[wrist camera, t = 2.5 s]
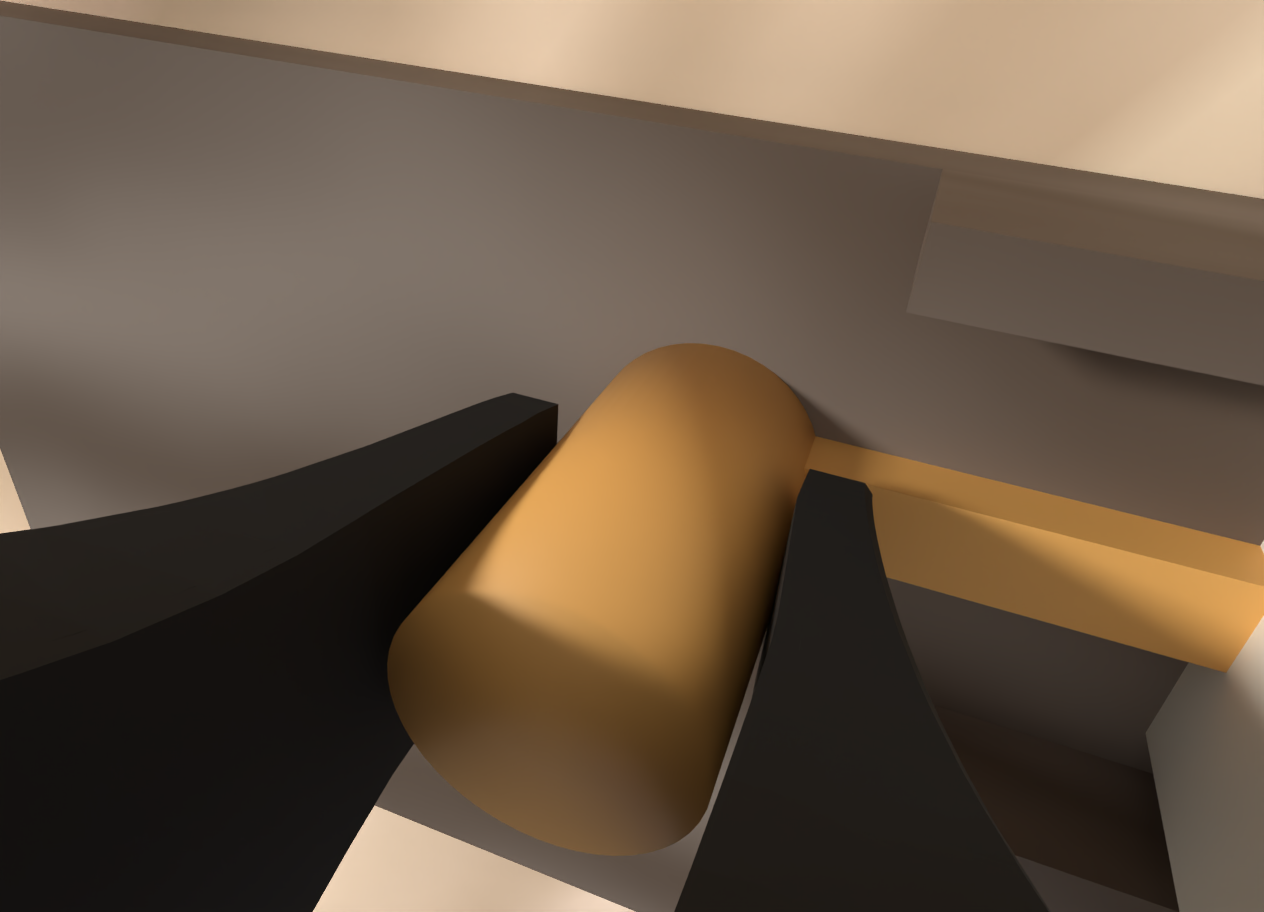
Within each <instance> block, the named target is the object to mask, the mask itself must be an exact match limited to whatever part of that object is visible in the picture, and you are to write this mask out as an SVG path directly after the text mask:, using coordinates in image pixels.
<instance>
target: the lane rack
mask: <svg viewBox="0 0 1264 912" xmlns="http://www.w3.org/2000/svg"><path fill="white" fill-rule="evenodd" d="M684 343H700V344H709V345H715V346H720V347H723V348H727V349H730V350H734V351H736V352H739V353H741V354H743V355H746V356H748V357H750V358H752V359H754V360H755V361H757V362H759V363H761V364H762V365H764V366H765V367H767V368H768V369H769V370H771V371H772V372H773V373H775V374H776V375H777V376H778V377H779V378H780V379H781V380H782V381H783V382H784V383H785V384H787V385H788V387H789V388H790V389H791V390H792V391H793V393H794V394H795V395H796V396H797V398H798V399H799V401H800V402H801V404H802V405H803V407H804V409H805V410H806V412H807V414H808V416H809V419H810V421H811V423H812V426H813V429H814V432H815V436H817V437H821V438H825V439H829V440H833V441H837V442H841V443H845V444H849V445H853V446H857V447H861V448H865V449H869V450H873V451H878V452H882V453H886V454H890V455H894V456H898V457H902V458H906V459H910V460H914V461H918V462H922V463H926V464H930V465H934V466H938V467H942V468H946V469H951V470H955V471H959V472H963V473H967V474H971V475H975V476H979V477H983V478H987V479H991V480H995V481H999V482H1003V483H1007V484H1011V485H1015V486H1019V487H1024V488H1028V489H1032V490H1036V491H1040V492H1044V493H1048V494H1052V495H1056V496H1060V497H1064V498H1068V499H1072V500H1076V501H1080V502H1084V503H1088V504H1092V505H1097V506H1101V507H1105V508H1109V509H1113V510H1117V511H1121V512H1125V513H1129V514H1133V515H1137V516H1141V517H1145V518H1149V519H1153V520H1157V521H1161V522H1165V523H1170V524H1174V525H1178V526H1182V527H1186V528H1190V529H1194V530H1198V531H1202V532H1206V533H1210V534H1214V535H1218V536H1222V537H1226V538H1230V539H1234V540H1238V541H1243V542H1247V543H1251V544H1255V545H1259V546H1261V544H1262V542H1263V541H1264V199H1260V198H1253V197H1247V196H1240V195H1234V194H1228V193H1221V192H1215V191H1209V190H1202V189H1196V188H1189V187H1183V186H1177V185H1170V184H1164V183H1158V182H1151V181H1145V180H1139V179H1132V178H1126V177H1119V176H1113V175H1107V174H1100V173H1094V172H1088V171H1081V170H1075V169H1068V168H1062V167H1056V166H1049V165H1043V164H1037V163H1030V162H1024V161H1017V160H1011V159H1005V158H998V157H992V156H986V155H979V154H973V153H967V152H960V151H954V150H947V149H941V148H935V147H928V146H922V145H916V144H909V143H903V142H896V141H890V140H884V139H877V138H871V137H865V136H858V135H852V134H846V133H839V132H833V131H826V130H820V129H814V128H807V127H801V126H795V125H788V124H782V123H775V122H769V121H763V120H756V119H750V118H744V117H737V116H731V115H724V114H718V113H712V112H705V111H699V110H693V109H686V108H680V107H674V106H667V105H661V104H654V103H648V102H642V101H635V100H629V99H623V98H616V97H610V96H603V95H597V94H591V93H584V92H578V91H572V90H565V89H559V88H552V87H546V86H540V85H533V84H527V83H521V82H514V81H508V80H502V79H495V78H489V77H482V76H476V75H470V74H463V73H457V72H451V71H444V70H438V69H431V68H425V67H419V66H412V65H406V64H400V63H393V62H387V61H381V60H374V59H368V58H361V57H355V56H349V55H342V54H336V53H330V52H323V51H317V50H310V49H304V48H298V47H291V46H285V45H279V44H272V43H266V42H259V41H253V40H247V39H240V38H234V37H228V36H221V35H215V34H209V33H202V32H196V31H189V30H183V29H177V28H170V27H164V26H158V25H151V24H145V23H138V22H132V21H126V20H119V19H113V18H107V17H100V16H94V15H88V14H81V13H75V12H68V11H62V10H56V9H49V8H43V7H37V6H30V5H24V4H17V3H11V2H5V1H0V449H1V452H2V454H3V457H4V460H5V462H6V465H7V467H8V470H9V473H10V475H11V478H12V481H13V483H14V486H15V489H16V491H17V494H18V496H19V499H20V502H21V504H22V507H23V510H24V512H25V515H26V518H27V520H28V523H29V526H30V528H31V529H37V528H44V527H50V526H57V525H62V524H67V523H73V522H78V521H83V520H89V519H94V518H99V517H105V516H110V515H115V514H121V513H126V512H132V511H137V510H142V509H148V508H153V507H158V506H163V505H167V504H172V503H176V502H181V501H185V500H189V499H193V498H197V497H201V496H205V495H209V494H213V493H217V492H221V491H225V490H229V489H233V488H236V487H240V486H243V485H247V484H251V483H254V482H258V481H261V480H265V479H268V478H271V477H275V476H278V475H281V474H284V473H287V472H290V471H293V470H296V469H299V468H302V467H305V466H308V465H311V464H314V463H317V462H320V461H323V460H326V459H329V458H332V457H335V456H338V455H341V454H344V453H347V452H350V451H353V450H356V449H359V448H362V447H364V446H367V445H370V444H373V443H375V442H378V441H381V440H383V439H386V438H388V437H391V436H394V435H396V434H399V433H402V432H404V431H407V430H409V429H412V428H415V427H417V426H420V425H423V424H425V423H428V422H430V421H433V420H436V419H438V418H441V417H443V416H446V415H449V414H451V413H454V412H456V411H459V410H462V409H464V408H467V407H470V406H472V405H475V404H478V403H481V402H483V401H486V400H489V399H492V398H495V397H498V396H502V395H506V394H509V393H517V394H521V395H525V396H528V397H532V398H536V399H540V400H544V401H548V402H552V403H556V404H559V405H558V430H557V443H558V442H559V441H560V440H561V439H562V438H563V437H564V435H565V434H566V433H567V432H568V431H569V430H570V428H571V427H572V426H573V425H574V424H575V423H576V422H577V420H578V419H579V418H580V417H581V416H582V415H583V413H584V412H585V411H586V410H587V409H588V408H589V407H590V405H591V404H592V403H593V402H594V401H595V400H596V398H597V397H598V396H599V395H600V394H601V393H602V392H603V390H604V389H605V388H606V387H607V386H608V385H609V383H610V382H611V381H612V380H613V379H614V378H615V377H616V375H617V374H618V373H619V372H620V371H621V370H622V369H623V368H624V367H625V366H627V365H628V364H629V363H630V362H632V361H633V360H634V359H636V358H638V357H639V356H641V355H643V354H645V353H647V352H649V351H652V350H655V349H657V348H660V347H664V346H669V345H673V344H684ZM887 580H888V584H889V587H890V590H891V593H892V597H893V600H894V603H895V606H896V609H897V613H898V616H899V619H900V622H901V625H902V628H903V630H904V633H905V636H906V639H907V642H908V645H909V647H910V650H911V652H912V655H913V657H914V660H915V662H916V665H917V667H918V670H919V672H920V675H921V677H922V680H923V682H924V685H925V687H926V689H927V691H928V694H929V696H930V698H931V701H932V703H933V705H934V707H935V710H936V712H937V714H938V716H939V718H940V720H941V723H942V725H943V727H944V729H945V731H946V733H947V735H948V737H949V739H950V741H951V743H952V745H953V747H954V749H955V751H956V753H957V755H958V757H959V759H960V761H961V763H962V765H963V767H964V769H965V770H966V772H967V774H968V776H969V778H970V779H971V781H972V783H973V785H974V787H975V789H976V790H977V792H978V794H979V796H980V798H981V799H982V801H983V803H984V805H985V807H986V808H987V810H988V812H989V814H990V816H991V817H992V819H993V821H994V823H995V824H996V826H997V828H998V830H999V831H1000V833H1001V834H1002V836H1003V837H1004V839H1005V841H1006V842H1007V844H1008V845H1009V847H1010V848H1011V850H1012V852H1013V853H1014V855H1015V856H1016V858H1017V859H1018V861H1019V863H1020V864H1021V866H1022V867H1023V869H1024V870H1025V872H1026V874H1027V875H1028V877H1029V878H1030V880H1031V881H1032V883H1033V885H1034V886H1035V888H1036V889H1037V891H1038V892H1039V894H1040V896H1041V897H1042V899H1043V900H1044V902H1045V903H1046V905H1047V907H1048V908H1049V910H1050V911H1051V912H1179V906H1178V901H1177V896H1176V891H1175V885H1174V880H1173V875H1172V870H1171V864H1170V859H1169V854H1168V849H1167V843H1166V838H1165V833H1164V828H1163V822H1162V817H1161V812H1160V807H1159V801H1158V796H1157V791H1156V786H1155V780H1154V775H1153V770H1152V765H1151V759H1150V754H1149V749H1148V744H1147V738H1146V731H1147V730H1148V728H1149V726H1150V725H1151V723H1152V722H1153V720H1154V718H1155V717H1156V715H1157V713H1158V712H1159V710H1160V709H1161V707H1162V705H1163V704H1164V702H1165V700H1166V699H1167V697H1168V695H1169V694H1170V692H1171V691H1172V689H1173V687H1174V686H1175V684H1176V682H1177V681H1178V679H1179V678H1180V676H1181V674H1182V673H1183V671H1184V669H1185V668H1186V666H1187V665H1188V663H1189V662H1186V661H1182V660H1179V659H1175V658H1172V657H1168V656H1165V655H1161V654H1157V653H1154V652H1150V651H1147V650H1143V649H1140V648H1136V647H1133V646H1129V645H1125V644H1122V643H1118V642H1115V641H1111V640H1108V639H1104V638H1101V637H1097V636H1094V635H1090V634H1086V633H1083V632H1079V631H1076V630H1072V629H1069V628H1065V627H1062V626H1058V625H1055V624H1051V623H1047V622H1044V621H1040V620H1037V619H1033V618H1030V617H1026V616H1023V615H1019V614H1015V613H1012V612H1008V611H1005V610H1001V609H998V608H994V607H991V606H987V605H984V604H980V603H976V602H973V601H969V600H966V599H962V598H959V597H955V596H952V595H948V594H945V593H941V592H937V591H934V590H930V589H927V588H923V587H920V586H916V585H913V584H909V583H905V582H902V581H898V580H895V579H891V578H888V577H887ZM766 631H767V630H766ZM765 636H766V633H765ZM765 636H764V639H763V642H762V645H761V648H760V651H759V654H758V657H757V660H756V663H755V666H754V669H753V672H752V675H751V678H750V681H749V684H748V687H747V690H746V693H745V696H744V699H743V702H742V705H741V708H740V711H739V714H738V717H737V720H736V723H735V727H734V730H733V733H732V736H731V739H730V742H729V745H728V748H727V751H726V754H725V757H724V760H723V763H722V766H721V769H720V772H719V775H718V778H717V781H716V784H715V787H714V790H713V793H712V796H711V799H710V802H709V805H708V808H707V811H706V812H705V814H704V816H703V817H702V819H701V821H700V823H699V824H698V825H697V826H696V827H695V828H694V829H693V830H692V831H691V832H690V833H689V834H688V835H686V836H685V837H684V838H682V839H681V840H679V841H678V842H676V843H674V844H672V845H670V846H668V847H666V848H663V849H660V850H656V851H653V852H650V853H644V854H637V855H628V856H609V855H596V854H590V853H584V852H578V851H574V850H570V849H566V848H562V847H559V846H555V845H553V844H550V843H547V842H544V841H541V840H538V839H536V838H534V837H531V836H529V835H527V834H525V833H522V832H520V831H518V830H516V829H514V828H512V827H510V826H508V825H507V824H505V823H503V822H501V821H499V820H498V819H496V818H494V817H493V816H491V815H490V814H488V813H486V812H485V811H483V810H482V809H480V808H479V807H478V806H476V805H475V804H474V803H472V802H471V801H469V800H468V799H467V798H465V797H464V796H463V795H462V794H461V793H459V792H458V791H457V790H456V789H455V788H454V787H452V786H451V785H450V784H449V783H448V782H447V781H446V780H445V779H444V778H443V777H442V776H441V775H440V774H439V773H438V772H437V771H436V770H435V769H434V768H433V767H432V765H431V764H430V763H429V762H428V761H427V760H426V759H425V757H424V756H423V755H422V754H421V752H420V751H419V749H418V748H417V747H416V745H415V744H413V746H412V747H411V749H410V750H409V752H408V753H407V755H406V756H405V758H404V759H403V761H402V762H401V763H400V765H399V766H398V768H397V769H396V771H395V772H394V774H393V775H392V777H391V778H390V780H389V782H388V783H387V785H386V787H385V788H384V790H383V792H382V793H381V795H380V797H379V798H378V800H377V802H376V803H375V806H378V807H380V808H383V809H385V810H388V811H390V812H392V813H395V814H397V815H400V816H402V817H405V818H407V819H410V820H412V821H415V822H417V823H420V824H422V825H424V826H427V827H429V828H432V829H434V830H437V831H439V832H442V833H444V834H447V835H449V836H451V837H454V838H456V839H459V840H461V841H464V842H466V843H469V844H471V845H474V846H476V847H479V848H481V849H483V850H486V851H488V852H491V853H493V854H496V855H498V856H501V857H503V858H506V859H508V860H511V861H513V862H515V863H518V864H520V865H523V866H525V867H528V868H530V869H533V870H535V871H538V872H540V873H543V874H545V875H547V876H550V877H552V878H555V879H557V880H560V881H562V882H565V883H567V884H570V885H572V886H575V887H577V888H579V889H582V890H584V891H587V892H589V893H592V894H594V895H597V896H599V897H602V898H604V899H607V900H609V901H611V902H614V903H616V904H619V905H621V906H624V907H626V908H629V909H631V910H634V911H636V912H674V911H675V908H676V906H677V903H678V900H679V898H680V895H681V892H682V890H683V887H684V885H685V882H686V879H687V877H688V874H689V871H690V869H691V866H692V864H693V861H694V858H695V855H696V853H697V850H698V847H699V844H700V842H701V839H702V836H703V833H704V831H705V828H706V825H707V823H708V820H709V817H710V814H711V812H712V809H713V806H714V803H715V801H716V798H717V795H718V792H719V790H720V787H721V784H722V782H723V779H724V776H725V773H726V770H727V768H728V765H729V762H730V759H731V756H732V753H733V751H734V748H735V745H736V742H737V739H738V736H739V734H740V731H741V728H742V725H743V722H744V719H745V717H746V714H747V711H748V708H749V705H750V702H751V699H752V694H753V689H754V684H755V679H756V675H757V671H758V666H759V662H760V658H761V653H762V649H763V644H764V640H765Z"/></svg>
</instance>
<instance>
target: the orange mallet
mask: <svg viewBox="0 0 1264 912" xmlns="http://www.w3.org/2000/svg"><path fill="white" fill-rule="evenodd" d="M809 469H813V470H817V471H821V472H825V473H828V474H832V475H836V476H840V477H844V478H848V479H852V480H856V481H860V482H864V483H866V485H867V487H868V488H869V490H870V491H871V493H872V494H873V497H872V505H873V516H874V523H875V529H876V535H877V540H878V544H879V549H880V553H881V558H882V562H883V566H884V569H885V573H886V577H888V578H891V579H895V580H898V581H902V582H905V583H909V584H913V585H916V586H920V587H923V588H927V589H930V590H934V591H937V592H941V593H945V594H948V595H952V596H955V597H959V598H962V599H966V600H969V601H973V602H976V603H980V604H984V605H987V606H991V607H994V608H998V609H1001V610H1005V611H1008V612H1012V613H1015V614H1019V615H1023V616H1026V617H1030V618H1033V619H1037V620H1040V621H1044V622H1047V623H1051V624H1055V625H1058V626H1062V627H1065V628H1069V629H1072V630H1076V631H1079V632H1083V633H1086V634H1090V635H1094V636H1097V637H1101V638H1104V639H1108V640H1111V641H1115V642H1118V643H1122V644H1125V645H1129V646H1133V647H1136V648H1140V649H1143V650H1147V651H1150V652H1154V653H1157V654H1161V655H1165V656H1168V657H1172V658H1175V659H1179V660H1182V661H1186V662H1189V663H1188V665H1187V666H1186V668H1185V669H1184V671H1183V673H1182V674H1181V676H1180V678H1179V679H1178V681H1177V682H1176V684H1175V686H1174V687H1173V689H1172V691H1171V692H1170V694H1169V695H1168V697H1167V699H1166V700H1165V702H1164V704H1163V705H1162V707H1161V709H1160V710H1159V712H1158V713H1157V715H1156V717H1155V718H1154V720H1153V722H1152V723H1151V725H1150V726H1149V728H1148V730H1147V731H1146V738H1147V744H1148V749H1149V754H1150V759H1151V765H1152V770H1153V775H1154V780H1155V786H1156V791H1157V796H1158V801H1159V807H1160V812H1161V817H1162V822H1163V828H1164V833H1165V838H1166V843H1167V849H1168V854H1169V859H1170V864H1171V870H1172V875H1173V880H1174V885H1175V891H1176V896H1177V901H1178V906H1179V912H1264V541H1263V542H1262V544H1261V546H1259V545H1255V544H1251V543H1247V542H1243V541H1238V540H1234V539H1230V538H1226V537H1222V536H1218V535H1214V534H1210V533H1206V532H1202V531H1198V530H1194V529H1190V528H1186V527H1182V526H1178V525H1174V524H1170V523H1165V522H1161V521H1157V520H1153V519H1149V518H1145V517H1141V516H1137V515H1133V514H1129V513H1125V512H1121V511H1117V510H1113V509H1109V508H1105V507H1101V506H1097V505H1092V504H1088V503H1084V502H1080V501H1076V500H1072V499H1068V498H1064V497H1060V496H1056V495H1052V494H1048V493H1044V492H1040V491H1036V490H1032V489H1028V488H1024V487H1019V486H1015V485H1011V484H1007V483H1003V482H999V481H995V480H991V479H987V478H983V477H979V476H975V475H971V474H967V473H963V472H959V471H955V470H951V469H946V468H942V467H938V466H934V465H930V464H926V463H922V462H918V461H914V460H910V459H906V458H902V457H898V456H894V455H890V454H886V453H882V452H878V451H873V450H869V449H865V448H861V447H857V446H853V445H849V444H845V443H841V442H837V441H833V440H829V439H825V438H821V437H817V436H815V432H814V429H813V426H812V423H811V421H810V419H809V416H808V414H807V412H806V410H805V409H804V407H803V405H802V404H801V402H800V401H799V399H798V398H797V396H796V395H795V394H794V393H793V391H792V390H791V389H790V388H789V387H788V385H787V384H785V383H784V382H783V381H782V380H781V379H780V378H779V377H778V376H777V375H776V374H775V373H773V372H772V371H771V370H769V369H768V368H767V367H765V366H764V365H762V364H761V363H759V362H757V361H755V360H754V359H752V358H750V357H748V356H746V355H743V354H741V353H739V352H736V351H734V350H730V349H727V348H723V347H720V346H715V345H709V344H700V343H684V344H673V345H669V346H664V347H660V348H657V349H655V350H652V351H649V352H647V353H645V354H643V355H641V356H639V357H638V358H636V359H634V360H633V361H632V362H630V363H629V364H628V365H627V366H625V367H624V368H623V369H622V370H621V371H620V372H619V373H618V374H617V375H616V377H615V378H614V379H613V380H612V381H611V382H610V383H609V385H608V386H607V387H606V388H605V389H604V390H603V392H602V393H601V394H600V395H599V396H598V397H597V398H596V400H595V401H594V402H593V403H592V404H591V405H590V407H589V408H588V409H587V410H586V411H585V412H584V413H583V415H582V416H581V417H580V418H579V419H578V420H577V422H576V423H575V424H574V425H573V426H572V427H571V428H570V430H569V431H568V432H567V433H566V434H565V435H564V437H563V438H562V439H561V440H560V441H559V442H558V443H557V445H556V446H555V447H554V448H553V449H552V450H551V452H550V453H549V454H548V455H547V456H546V457H545V458H544V460H543V461H542V462H541V463H540V464H539V465H538V467H537V468H536V469H535V470H534V471H533V472H532V473H531V475H530V476H529V477H528V478H527V479H526V480H525V482H524V483H523V484H522V485H521V486H520V487H519V488H518V490H517V491H516V492H515V493H514V494H513V495H512V497H511V498H510V499H509V500H508V501H507V502H506V503H505V505H504V506H503V507H502V508H501V509H500V510H499V512H498V513H497V514H496V515H495V516H494V517H493V518H492V520H491V521H490V522H489V523H488V524H487V525H486V527H485V528H484V529H483V530H482V531H481V532H480V533H479V535H478V536H477V537H476V538H475V539H474V540H473V542H472V543H471V544H470V545H469V546H468V547H467V548H466V550H465V551H464V552H463V553H462V554H461V555H460V557H459V558H458V559H457V560H456V561H455V562H454V563H453V565H452V566H451V567H450V568H449V569H448V570H447V572H446V573H445V574H444V575H443V576H442V577H441V578H440V580H439V581H438V582H437V583H436V584H435V585H434V587H433V588H432V589H431V590H430V591H429V592H428V593H427V595H426V596H425V597H424V598H423V599H422V600H421V602H420V603H419V604H418V605H417V606H416V607H415V608H414V610H413V611H412V612H411V613H410V614H409V615H408V617H407V618H406V619H405V620H404V621H403V622H402V624H401V625H400V627H399V628H398V630H397V632H396V633H395V635H394V637H393V640H392V643H391V646H390V648H389V655H388V662H387V671H388V683H389V688H390V694H391V697H392V700H393V703H394V706H395V709H396V711H397V713H398V716H399V718H400V720H401V722H402V724H403V726H404V728H405V730H406V731H407V733H408V735H409V736H410V738H411V740H412V741H413V743H414V744H415V745H416V747H417V748H418V749H419V751H420V752H421V754H422V755H423V756H424V757H425V759H426V760H427V761H428V762H429V763H430V764H431V765H432V767H433V768H434V769H435V770H436V771H437V772H438V773H439V774H440V775H441V776H442V777H443V778H444V779H445V780H446V781H447V782H448V783H449V784H450V785H451V786H452V787H454V788H455V789H456V790H457V791H458V792H459V793H461V794H462V795H463V796H464V797H465V798H467V799H468V800H469V801H471V802H472V803H474V804H475V805H476V806H478V807H479V808H480V809H482V810H483V811H485V812H486V813H488V814H490V815H491V816H493V817H494V818H496V819H498V820H499V821H501V822H503V823H505V824H507V825H508V826H510V827H512V828H514V829H516V830H518V831H520V832H522V833H525V834H527V835H529V836H531V837H534V838H536V839H538V840H541V841H544V842H547V843H550V844H553V845H555V846H559V847H562V848H566V849H570V850H574V851H578V852H584V853H590V854H596V855H609V856H628V855H637V854H644V853H650V852H653V851H656V850H660V849H663V848H666V847H668V846H670V845H672V844H674V843H676V842H678V841H679V840H681V839H682V838H684V837H685V836H686V835H688V834H689V833H690V832H691V831H692V830H693V829H694V828H695V827H696V826H697V825H698V824H699V823H700V821H701V819H702V817H703V816H704V814H705V812H706V811H707V808H708V805H709V802H710V799H711V796H712V793H713V790H714V787H715V784H716V781H717V778H718V775H719V772H720V769H721V766H722V763H723V760H724V757H725V754H726V751H727V748H728V745H729V742H730V739H731V736H732V733H733V730H734V727H735V723H736V720H737V717H738V714H739V711H740V708H741V705H742V702H743V699H744V696H745V693H746V690H747V687H748V684H749V681H750V678H751V675H752V672H753V669H754V666H755V663H756V660H757V657H758V654H759V651H760V648H761V645H762V642H763V639H764V636H765V633H766V630H767V627H768V624H769V620H770V617H771V613H772V608H773V604H774V599H775V594H776V589H777V584H778V579H779V575H780V570H781V566H782V561H783V557H784V553H785V548H786V544H787V540H788V535H789V531H790V527H791V522H792V518H793V513H794V509H795V505H796V500H797V497H798V494H799V492H800V489H801V487H802V485H803V482H804V480H805V478H806V476H807V474H808V472H809Z"/></svg>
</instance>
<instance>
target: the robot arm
mask: <svg viewBox="0 0 1264 912" xmlns="http://www.w3.org/2000/svg"><path fill="white" fill-rule="evenodd" d="M558 405H559V404H556V403H552V402H548V401H544V400H540V399H536V398H532V397H528V396H525V395H521V394H517V393H509V394H506V395H502V396H498V397H495V398H492V399H489V400H486V401H483V402H481V403H478V404H475V405H472V406H470V407H467V408H464V409H462V410H459V411H456V412H454V413H451V414H449V415H446V416H443V417H441V418H438V419H436V420H433V421H430V422H428V423H425V424H423V425H420V426H417V427H415V428H412V429H409V430H407V431H404V432H402V433H399V434H396V435H394V436H391V437H388V438H386V439H383V440H381V441H378V442H375V443H373V444H370V445H367V446H364V447H362V448H359V449H356V450H353V451H350V452H347V453H344V454H341V455H338V456H335V457H332V458H329V459H326V460H323V461H320V462H317V463H314V464H311V465H308V466H305V467H302V468H299V469H296V470H293V471H290V472H287V473H284V474H281V475H278V476H275V477H271V478H268V479H265V480H261V481H258V482H254V483H251V484H247V485H243V486H240V487H236V488H233V489H229V490H225V491H221V492H217V493H213V494H209V495H205V496H201V497H197V498H193V499H189V500H185V501H181V502H176V503H172V504H167V505H163V506H158V507H153V508H148V509H142V510H137V511H132V512H126V513H121V514H115V515H110V516H105V517H99V518H94V519H89V520H83V521H78V522H73V523H67V524H62V525H57V526H50V527H44V528H37V529H30V530H23V531H16V532H8V533H1V534H0V912H313V910H314V908H315V907H316V905H317V903H318V901H319V899H320V898H321V896H322V894H323V892H324V891H325V889H326V887H327V885H328V884H329V882H330V880H331V878H332V877H333V875H334V873H335V871H336V870H337V868H338V866H339V864H340V863H341V861H342V859H343V857H344V855H345V854H346V852H347V850H348V848H349V847H350V845H351V843H352V842H353V840H354V838H355V837H356V835H357V833H358V832H359V830H360V828H361V827H362V825H363V823H364V822H365V820H366V818H367V817H368V815H369V813H370V812H371V810H372V808H373V807H374V805H375V803H376V802H377V800H378V798H379V797H380V795H381V793H382V792H383V790H384V788H385V787H386V785H387V783H388V782H389V780H390V778H391V777H392V775H393V774H394V772H395V771H396V769H397V768H398V766H399V765H400V763H401V762H402V761H403V759H404V758H405V756H406V755H407V753H408V752H409V750H410V749H411V747H412V746H413V744H414V743H413V741H412V740H411V738H410V736H409V735H408V733H407V731H406V730H405V728H404V726H403V724H402V722H401V720H400V718H399V716H398V713H397V711H396V709H395V706H394V703H393V700H392V697H391V694H390V688H389V683H388V671H387V662H388V655H389V648H390V646H391V643H392V640H393V637H394V635H395V633H396V632H397V630H398V628H399V627H400V625H401V624H402V622H403V621H404V620H405V619H406V618H407V617H408V615H409V614H410V613H411V612H412V611H413V610H414V608H415V607H416V606H417V605H418V604H419V603H420V602H421V600H422V599H423V598H424V597H425V596H426V595H427V593H428V592H429V591H430V590H431V589H432V588H433V587H434V585H435V584H436V583H437V582H438V581H439V580H440V578H441V577H442V576H443V575H444V574H445V573H446V572H447V570H448V569H449V568H450V567H451V566H452V565H453V563H454V562H455V561H456V560H457V559H458V558H459V557H460V555H461V554H462V553H463V552H464V551H465V550H466V548H467V547H468V546H469V545H470V544H471V543H472V542H473V540H474V539H475V538H476V537H477V536H478V535H479V533H480V532H481V531H482V530H483V529H484V528H485V527H486V525H487V524H488V523H489V522H490V521H491V520H492V518H493V517H494V516H495V515H496V514H497V513H498V512H499V510H500V509H501V508H502V507H503V506H504V505H505V503H506V502H507V501H508V500H509V499H510V498H511V497H512V495H513V494H514V493H515V492H516V491H517V490H518V488H519V487H520V486H521V485H522V484H523V483H524V482H525V480H526V479H527V478H528V477H529V476H530V475H531V473H532V472H533V471H534V470H535V469H536V468H537V467H538V465H539V464H540V463H541V462H542V461H543V460H544V458H545V457H546V456H547V455H548V454H549V453H550V452H551V450H552V449H553V448H554V447H555V446H556V445H557V430H558ZM872 497H873V494H872V493H871V491H870V490H869V488H868V487H867V485H866V483H864V482H860V481H856V480H852V479H848V478H844V477H840V476H836V475H832V474H828V473H825V472H821V471H817V470H813V469H809V472H808V474H807V476H806V478H805V480H804V482H803V485H802V487H801V489H800V492H799V494H798V497H797V500H796V505H795V509H794V513H793V518H792V522H791V527H790V531H789V535H788V540H787V544H786V548H785V553H784V557H783V561H782V566H781V570H780V575H779V579H778V584H777V589H776V594H775V599H774V604H773V608H772V613H771V617H770V620H769V624H768V627H767V631H766V636H765V640H764V644H763V649H762V653H761V658H760V662H759V666H758V671H757V675H756V679H755V684H754V689H753V694H752V699H751V702H750V705H749V708H748V711H747V714H746V717H745V719H744V722H743V725H742V728H741V731H740V734H739V736H738V739H737V742H736V745H735V748H734V751H733V753H732V756H731V759H730V762H729V765H728V768H727V770H726V773H725V776H724V779H723V782H722V784H721V787H720V790H719V792H718V795H717V798H716V801H715V803H714V806H713V809H712V812H711V814H710V817H709V820H708V823H707V825H706V828H705V831H704V833H703V836H702V839H701V842H700V844H699V847H698V850H697V853H696V855H695V858H694V861H693V864H692V866H691V869H690V871H689V874H688V877H687V879H686V882H685V885H684V887H683V890H682V892H681V895H680V898H679V900H678V903H677V906H676V908H675V911H674V912H1051V911H1050V910H1049V908H1048V907H1047V905H1046V903H1045V902H1044V900H1043V899H1042V897H1041V896H1040V894H1039V892H1038V891H1037V889H1036V888H1035V886H1034V885H1033V883H1032V881H1031V880H1030V878H1029V877H1028V875H1027V874H1026V872H1025V870H1024V869H1023V867H1022V866H1021V864H1020V863H1019V861H1018V859H1017V858H1016V856H1015V855H1014V853H1013V852H1012V850H1011V848H1010V847H1009V845H1008V844H1007V842H1006V841H1005V839H1004V837H1003V836H1002V834H1001V833H1000V831H999V830H998V828H997V826H996V824H995V823H994V821H993V819H992V817H991V816H990V814H989V812H988V810H987V808H986V807H985V805H984V803H983V801H982V799H981V798H980V796H979V794H978V792H977V790H976V789H975V787H974V785H973V783H972V781H971V779H970V778H969V776H968V774H967V772H966V770H965V769H964V767H963V765H962V763H961V761H960V759H959V757H958V755H957V753H956V751H955V749H954V747H953V745H952V743H951V741H950V739H949V737H948V735H947V733H946V731H945V729H944V727H943V725H942V723H941V720H940V718H939V716H938V714H937V712H936V710H935V707H934V705H933V703H932V701H931V698H930V696H929V694H928V691H927V689H926V687H925V685H924V682H923V680H922V677H921V675H920V672H919V670H918V667H917V665H916V662H915V660H914V657H913V655H912V652H911V650H910V647H909V645H908V642H907V639H906V636H905V633H904V630H903V628H902V625H901V622H900V619H899V616H898V613H897V609H896V606H895V603H894V600H893V597H892V593H891V590H890V587H889V584H888V580H887V577H886V573H885V569H884V566H883V562H882V558H881V553H880V549H879V544H878V540H877V535H876V529H875V523H874V516H873V505H872Z"/></svg>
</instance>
